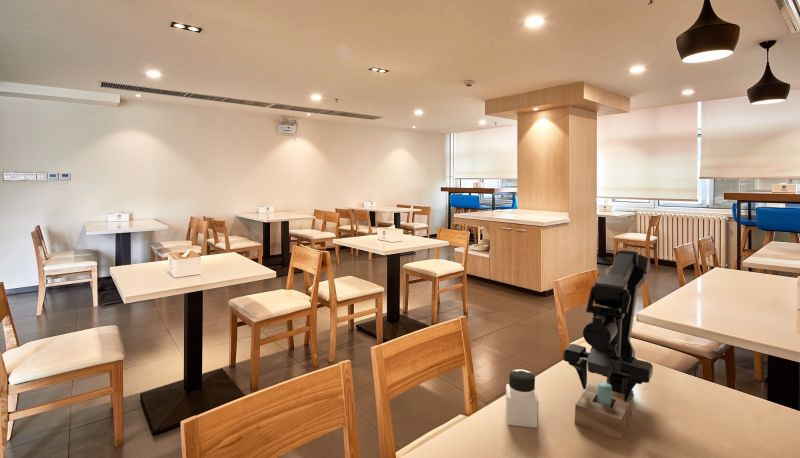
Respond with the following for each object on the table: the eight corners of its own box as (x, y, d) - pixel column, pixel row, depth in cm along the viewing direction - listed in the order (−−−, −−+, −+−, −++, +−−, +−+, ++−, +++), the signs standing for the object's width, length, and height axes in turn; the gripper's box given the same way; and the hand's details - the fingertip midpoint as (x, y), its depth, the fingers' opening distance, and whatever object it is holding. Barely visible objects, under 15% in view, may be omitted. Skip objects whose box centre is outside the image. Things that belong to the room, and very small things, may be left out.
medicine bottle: (538, 428, 97) (539, 381, 95) (507, 425, 98) (508, 379, 97) (534, 411, 104) (535, 367, 102) (505, 409, 105) (506, 365, 104)
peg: (598, 414, 102) (599, 381, 101) (611, 419, 100) (613, 384, 99) (595, 420, 100) (596, 385, 99) (608, 424, 98) (610, 389, 97)
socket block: (588, 401, 108) (589, 384, 107) (631, 415, 101) (632, 396, 101) (574, 423, 99) (575, 404, 98) (620, 439, 92) (621, 419, 92)
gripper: (556, 335, 97) (554, 396, 99) (646, 356, 85) (642, 425, 87) (571, 321, 105) (569, 378, 107) (655, 339, 93) (650, 402, 96)
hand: (604, 394), depth 99 cm, fingers open, 9 cm apart
